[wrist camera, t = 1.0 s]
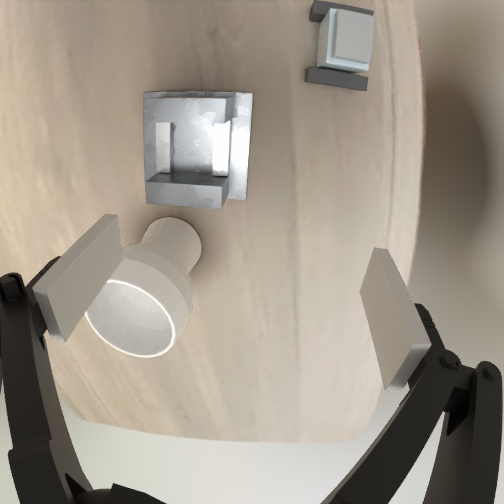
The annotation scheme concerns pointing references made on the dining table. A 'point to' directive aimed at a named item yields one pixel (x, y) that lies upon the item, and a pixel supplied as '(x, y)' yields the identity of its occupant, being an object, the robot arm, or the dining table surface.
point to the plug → (345, 41)
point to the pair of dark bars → (329, 76)
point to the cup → (149, 291)
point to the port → (196, 147)
